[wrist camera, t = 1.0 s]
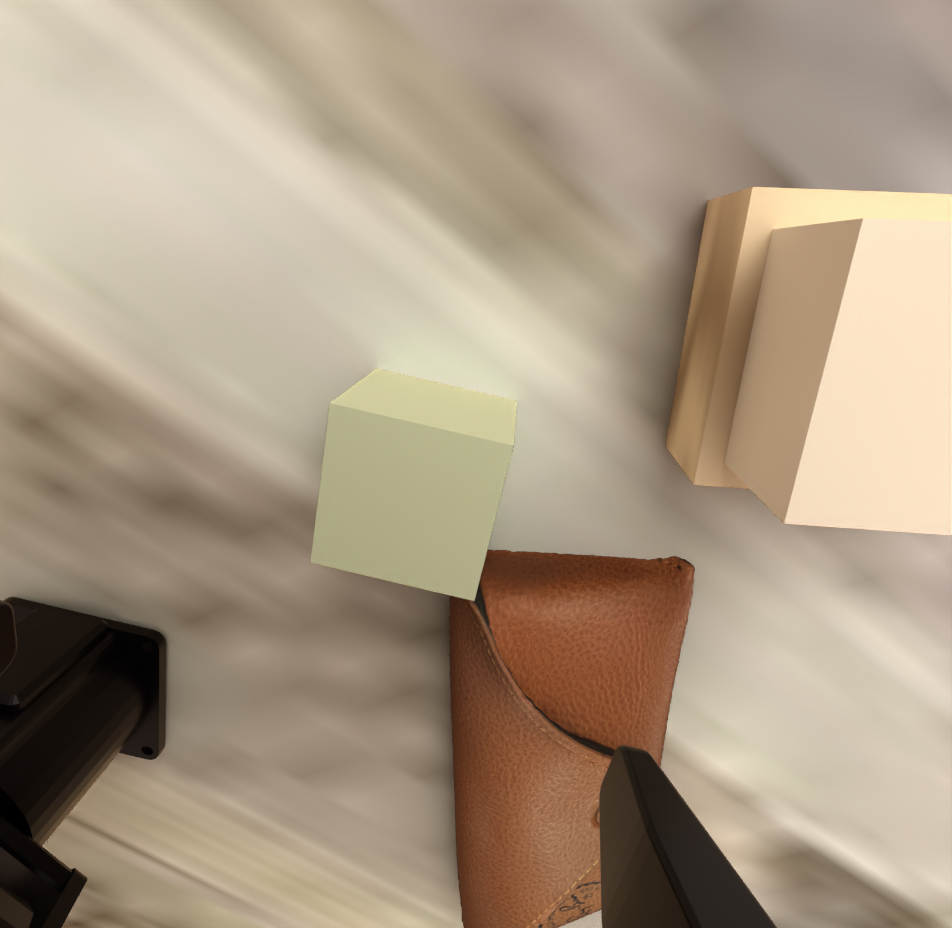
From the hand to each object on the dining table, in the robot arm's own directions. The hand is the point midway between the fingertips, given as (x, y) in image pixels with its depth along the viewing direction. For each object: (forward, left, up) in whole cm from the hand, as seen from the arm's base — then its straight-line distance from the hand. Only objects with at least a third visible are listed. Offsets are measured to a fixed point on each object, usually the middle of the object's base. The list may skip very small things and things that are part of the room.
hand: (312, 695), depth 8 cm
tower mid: (+6, -10, -8) cm, 14 cm away
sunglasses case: (-11, -7, -12) cm, 17 cm away
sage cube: (0, 0, -11) cm, 11 cm away
